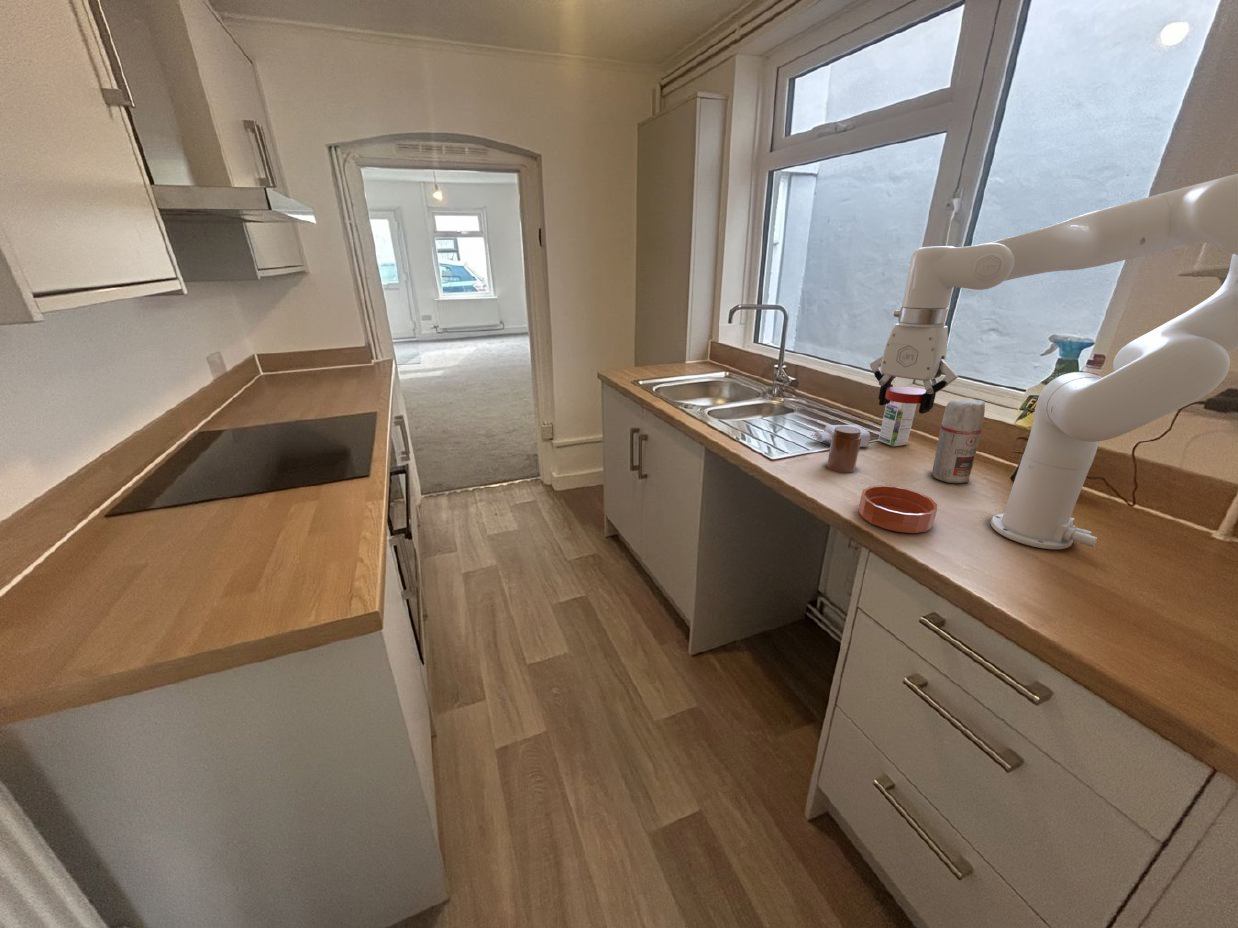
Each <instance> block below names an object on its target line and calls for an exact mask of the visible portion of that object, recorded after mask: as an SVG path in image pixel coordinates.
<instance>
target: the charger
mask: <svg viewBox="0 0 1238 928" xmlns="http://www.w3.org/2000/svg"><path fill="white" fill-rule="evenodd" d="M838 426H850V427H855V428H858V429H860V430H861V434H860V436H861V441H860V447H859V448H868V447H869V443H870V438H871V434H870V433H871V432H869V431H868V430H866V429H865V428H864V427H861V426H860V425H858V424H827V425H825V427H824V430H823V431H815V433H814V434H810V437H812V438H813V439H816V440H817V441H818V442H819V443H820V442H827V443H828V444H829V445H831V439H832V433H834V430H835V427H838Z"/></svg>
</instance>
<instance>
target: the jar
mask: <svg viewBox="0 0 1238 928" xmlns="http://www.w3.org/2000/svg"><path fill="white" fill-rule="evenodd" d="M860 434H861V430H860V429H858V428H855V427H850V426H838V427H835V430H834V433H832V439H831V444H829V445H830V446H829V452H828V458H827V463H826V467H827V469H829V470H831V471H834V472H837V473H843V474H849V473H853V472H855V470H856V467H857V461H858V456H859V451H860V448H861V447H860V441H861V436H860Z"/></svg>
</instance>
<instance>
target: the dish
mask: <svg viewBox="0 0 1238 928" xmlns="http://www.w3.org/2000/svg"><path fill="white" fill-rule="evenodd" d="M937 511H938V504H937V502H935V500H933V499H932V498H931V497H929V496H927V495H925V494H923V493H922V492H919V491H915V490H912V489H909V488H906V487H900V486H895V485H873V486H868V487H866V488H864V489H863V490H862V492H861V495H860V500H859V506H858V513H859V515H860V516H861V518H863V519H864V520H866V521H867V522H868V523H870V524H871V525H874V526H877V527H879V528H881V529H885V530H888V531H892V532H897V533H909V534H918V533H924V532H927V531H929V530H930V529H933V527H934V523H935V519H936V516H937Z"/></svg>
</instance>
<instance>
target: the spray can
mask: <svg viewBox="0 0 1238 928" xmlns="http://www.w3.org/2000/svg"><path fill="white" fill-rule="evenodd" d="M985 403H986V402H985V401H984V400H980V399H979V400H953V399H952V400H950V401H948V402H947V404H946V405H945V410H944V413H943V417H942V420H941V424H940V429H939V434H938V440H937V445H936V448H935V454H934V460H933V465H932V471H931V473H930V474H931V476H932V477H933V478H935V480H936V479H937V480H939V481H942V482H946V483H948V484H949V483H950V484H962V483H968V482H970V477H971V473H972V470H973V467H974V462H975V459H976V454H977V451H978V447H979V444H980V439H981V434H982V430H983V424H984V419H985V412H986V411H985V410H986V404H985Z"/></svg>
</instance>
